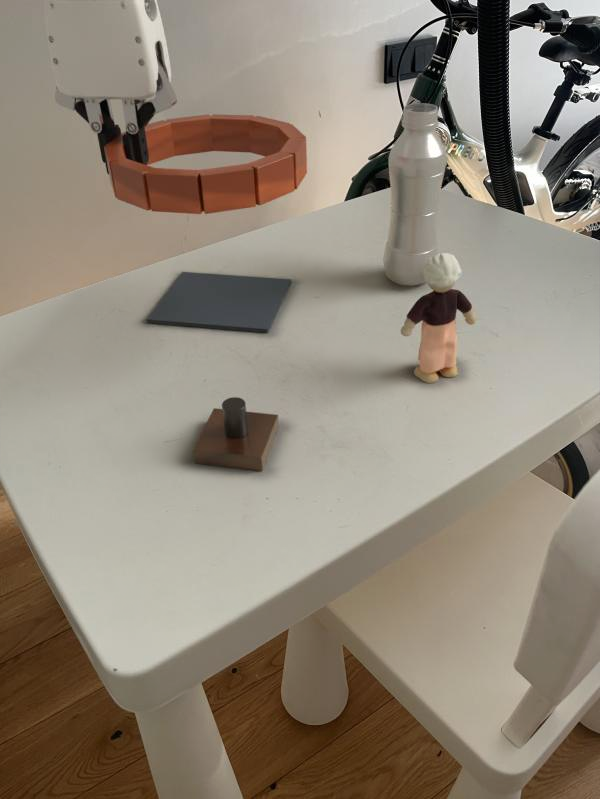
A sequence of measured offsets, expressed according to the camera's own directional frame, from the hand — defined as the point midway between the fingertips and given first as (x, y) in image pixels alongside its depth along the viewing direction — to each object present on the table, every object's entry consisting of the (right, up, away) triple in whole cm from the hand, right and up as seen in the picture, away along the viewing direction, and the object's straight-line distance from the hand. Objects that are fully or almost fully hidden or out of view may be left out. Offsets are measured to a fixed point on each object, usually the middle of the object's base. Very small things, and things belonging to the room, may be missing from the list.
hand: (127, 169), depth 73 cm
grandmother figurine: (+30, -20, 0) cm, 37 cm away
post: (+12, -27, -8) cm, 31 cm away
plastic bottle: (+31, -8, +16) cm, 36 cm away
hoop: (+8, -1, -1) cm, 9 cm away
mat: (+8, -11, +13) cm, 19 cm away
